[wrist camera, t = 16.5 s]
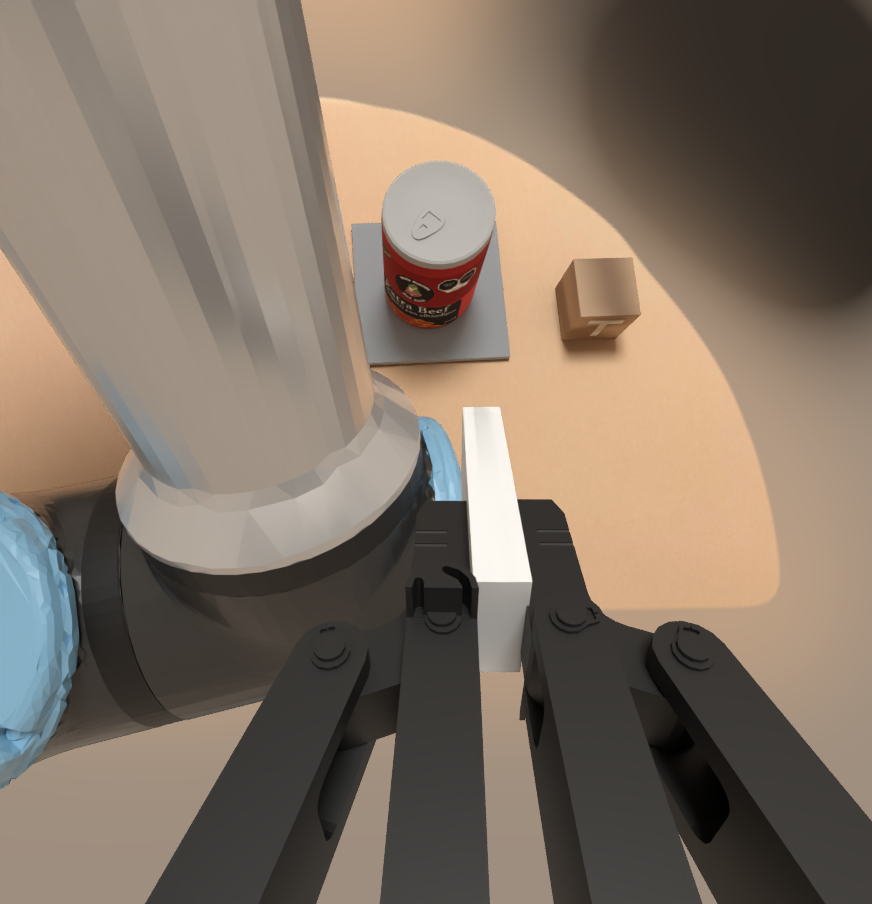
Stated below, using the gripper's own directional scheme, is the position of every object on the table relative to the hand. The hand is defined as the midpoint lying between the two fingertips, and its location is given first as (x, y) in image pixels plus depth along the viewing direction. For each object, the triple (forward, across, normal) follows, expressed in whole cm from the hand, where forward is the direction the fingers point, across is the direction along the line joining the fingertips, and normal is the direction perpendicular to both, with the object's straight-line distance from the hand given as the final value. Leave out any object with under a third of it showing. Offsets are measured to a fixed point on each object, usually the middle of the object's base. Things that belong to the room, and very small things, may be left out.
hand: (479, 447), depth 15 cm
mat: (+33, -2, -5) cm, 34 cm away
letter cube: (+33, +12, -7) cm, 36 cm away
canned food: (+33, -2, -5) cm, 33 cm away
